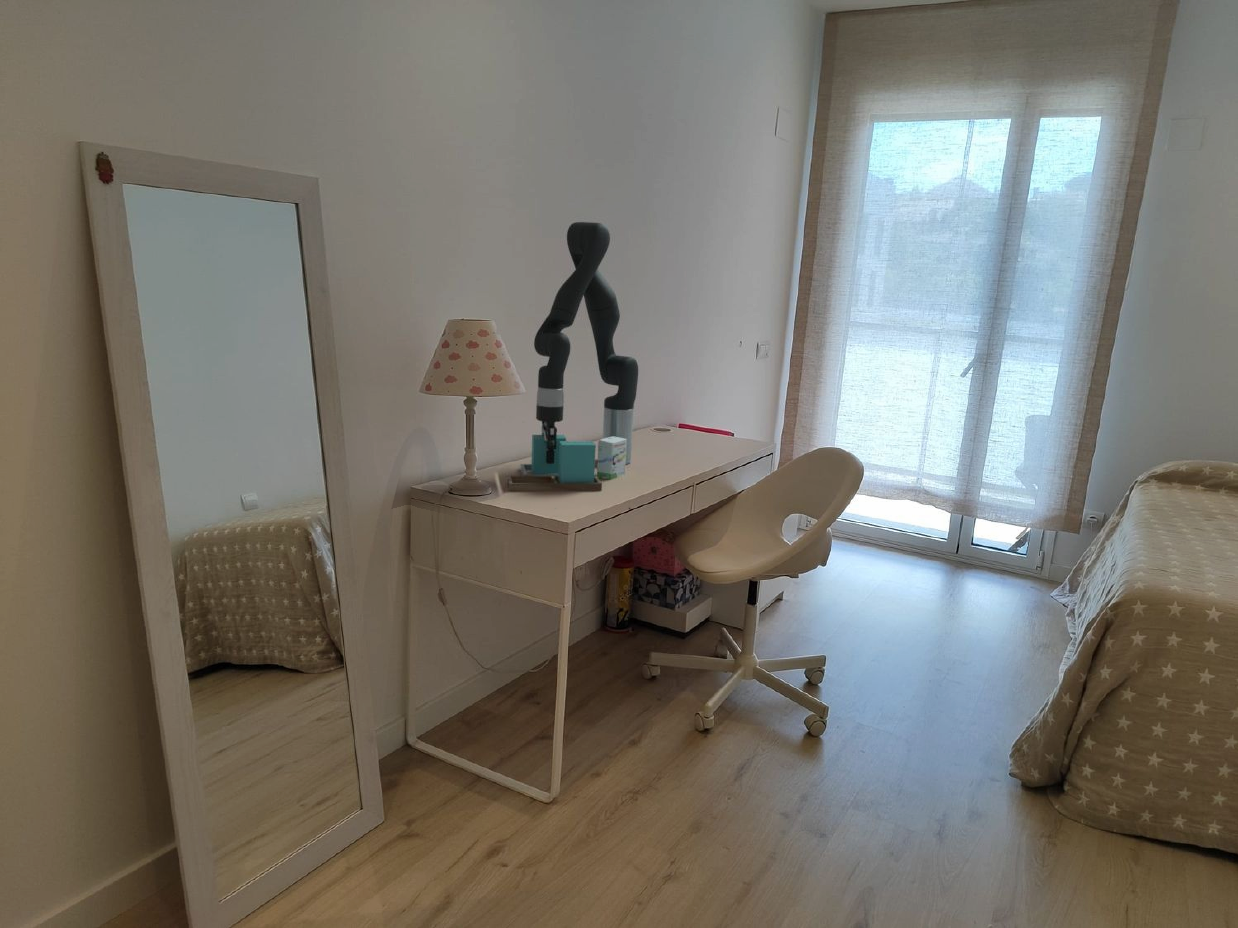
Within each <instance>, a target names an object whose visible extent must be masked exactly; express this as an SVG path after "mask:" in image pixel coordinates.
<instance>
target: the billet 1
mask: <svg viewBox="0 0 1238 928" xmlns="http://www.w3.org/2000/svg"><path fill="white" fill-rule="evenodd" d="M556 438H557V441H556V447H557V448H556V450H555V451H554V463H553V464H547V463H546V444H545V443H544V435H541V434H532V437H531V464H532V467H531V470H530V472H531V473H530V474H558V471H559V441H567V438H566V436H565V435H564V434H557V437H556ZM549 445H553V444H552V443H549Z"/></svg>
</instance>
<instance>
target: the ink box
mask: <svg viewBox="0 0 1238 928" xmlns="http://www.w3.org/2000/svg"><path fill="white" fill-rule="evenodd" d="M626 446H627V439H624V438H619V437H615V436H612V437H608V438H604V439H603V438H601V439H599V440H598V441H597V466H596V476H597V477H598V479H602V480H603V479H604V480H611V481H612V480H615V479H616V478H617V479H618V478H619V477H623V476H625V475H626V465H627V464H626Z"/></svg>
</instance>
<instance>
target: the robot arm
mask: <svg viewBox="0 0 1238 928" xmlns="http://www.w3.org/2000/svg"><path fill="white" fill-rule="evenodd" d="M610 235H611V234H610V231H609V229H608V227H607V226H606V225H605V224H604V223H601V222H592V221H590V222H587V221H576V222H575V221H574V222H573V223H571V224H570V225H569V227H568V229H567V233H566V242H567V249H568V251H569V254H570V256H571V260H572V262H573V264H574V265H573V266H574V268H575V269H574V271H573V272H572V273H571V275H569V277H568V278H567V279H566V280H565V281H564V282H563V283H562V285H561V286H560V287H559V289H558V291H557V293H556V295H555V297H554V300H553V302H552V306H551V309H550V311H549V314H548V315H547V316H546V318H545V319H544V321H543V323H542V324H541V325H540V327H539V328H538V330H537V332H536V334H535V336H534V342H533V347H534V350H535V352H536V354H538V355H540V356H542V357H545V358H546V357H548V361H547V363H546V365H542V366H541V367H540V368H539V369H538V375H537V392H536V408H535V409H536V410H535V411H536V412H535V413H536V415H535V419H536V420H537V421H538V422H541V434H540V435H544V443H545V444H546V463H547V464H553V463H554V451H555V450H556V448H557V447H556V441H557V438H556V437H557V435H558V433H557V432H558V428H557V427H556V426H555V425H556V424H555V423H559V422H562V421H563V420H564V402H565V401H564V400H565V399H564V398H565V395H564V394H565V393H564V375H565V370H566V367H567V364H568V360H569V357H570V353H571V342H570V338H569V337H568V335H567V334H565V333H564V332H562V331H563V330H564V329H566V328H569V327H572V325H573V324H574V322H575V319H576V317H577V313H578V311H579V308H580V306H581V303H582V300H583V297H584V303H585V308H586V311H587V316H588V320H589V323H590V326H591V330H592V335H593V338H594V339H593V340H594V344H595V350H596V351H595V352H596V357H597V363H598V370H599V375H600V378H601V380H602V381H603V382H604V383H605V384H607V385H611V386H616V387H617V393H615V394H612V395H610V396H607V397H604V402H603V422H602V424H603V425H602V427H603V428H602V439H604V438H608V437H612V436H615V437H619V438H624V439H627V446H626V465H628V464H631V462H632V449H633V448H632V446H633V445H632V444H633V442H632V441H633V426H634V408H635V406H634V405H635V401H636V397H637V390H638V382H639V380H638V379H639V365H638V364H639V363H638V362H637V360H636V358H635V357H632V356H625V355H617V354H616V352H615V349H614V348H615V347H614V341H613V340H614V335H615V334H616V330H617V328H618V325H619V322H620V318H621V317H620V316H621V315H620V314H621V313H620V309H619V304H618V300H617V296H616V293H615V291H614V290H613V288H612V286H611V285H610V283H609V282H608V281H607V280H606V278H605V277H604V275H603V274H602V273H601V271H600V270H599V266H600V265H601V263H602V261H603V259H604V258H605V256H606V254H607V252H608V249H609V246H610V242H611V236H610ZM549 443H552V444H553V445H549Z"/></svg>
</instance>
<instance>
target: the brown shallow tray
mask: <svg viewBox="0 0 1238 928" xmlns="http://www.w3.org/2000/svg"><path fill="white" fill-rule="evenodd" d="M506 482H507V486H508V490H509V492H584V491H585V492H600V491H602V490H603V489H602V487H603V483H602V482H601V480H600V478H598V477H597V474H596V475H595V474H594V483H558V476H523V475H507V481H506Z"/></svg>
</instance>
